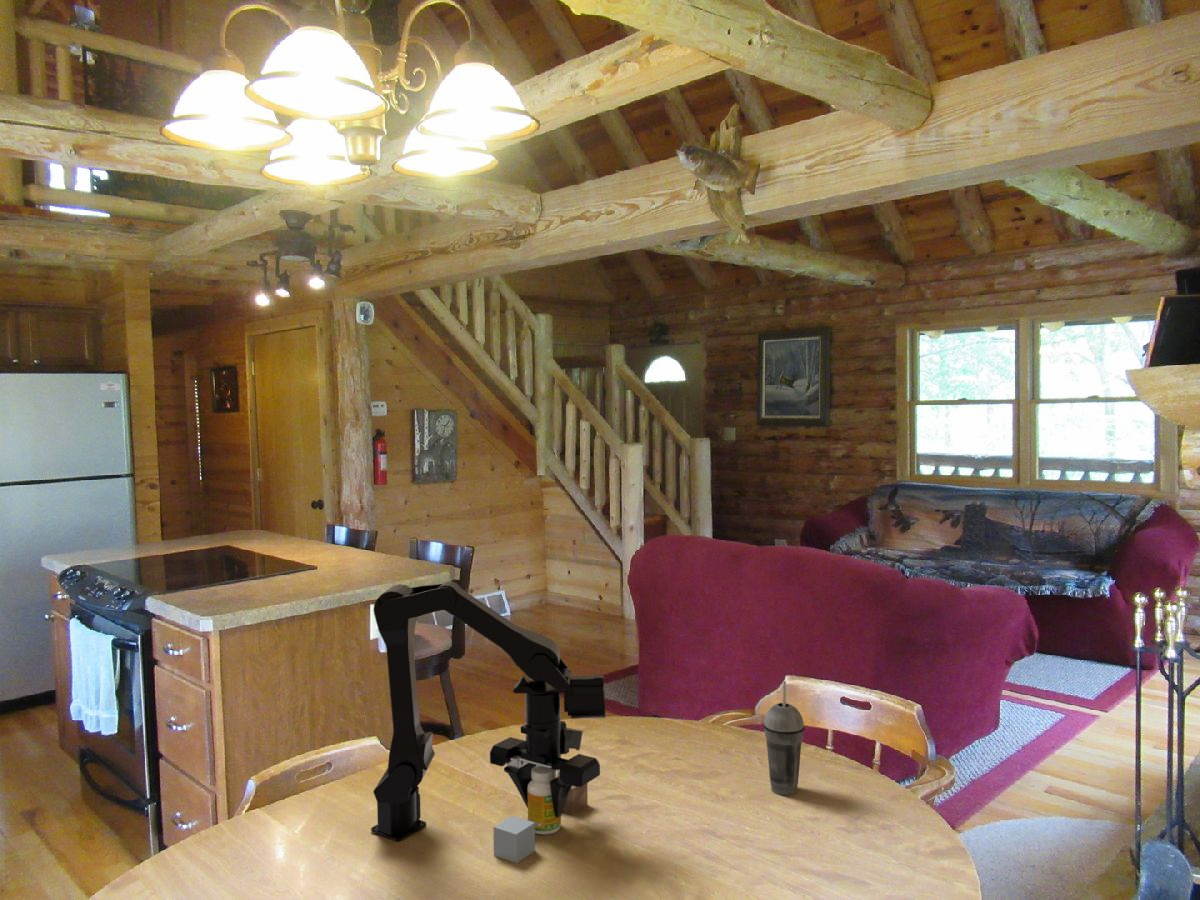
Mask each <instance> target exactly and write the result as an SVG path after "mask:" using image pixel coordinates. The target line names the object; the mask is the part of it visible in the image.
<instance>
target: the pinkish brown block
mask: <svg viewBox="0 0 1200 900" xmlns="http://www.w3.org/2000/svg"><path fill="white" fill-rule="evenodd" d="M588 796H589V795H588V783H587V784H585V785H584V786H581V787H576V786H572V787H571V789H570V792H569V794H568V797H567V800H566V803H565V806H564V809H563V812H562V813H564V814H569V815H572V816H573V815H575V814H576V813H578V812H579V811H581V810H582V809H584V808H585V807H587V806H588V804H589V801H588V798H589V797H588Z"/></svg>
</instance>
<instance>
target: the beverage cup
mask: <svg viewBox="0 0 1200 900" xmlns="http://www.w3.org/2000/svg"><path fill="white" fill-rule="evenodd" d="M762 726H763V729H764V730H763V731H764V736H765V738H766V749H767V760H768V770H769V782H770V788H771V789H770V790H771V792H772V793H773V794H776V795H778V796H783V797H784V796H785V797H786V796H787V797H788V796H789V797H790V796H794V795H796V794H797V793H798V785H799V773H800V765H801V763H800V762H801V751H802V750H801V749H802V742H803V737H804V731H805V729H806V728H805V724H804V719H803V716H802V713H801V712H800V711H799V710H798V709H797V707H795V706H794V705H792V704H790V703H787V682H786V680H785V681H784V680H783V681H782V702H779V703H776V704H774V705H772V706H771V707H770V708H769V709H767V711H766V714H765V716H764V721H763V725H762Z"/></svg>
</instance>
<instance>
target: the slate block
mask: <svg viewBox="0 0 1200 900" xmlns="http://www.w3.org/2000/svg"><path fill="white" fill-rule="evenodd" d="M492 830H493V856H494V857H497V858H500V859H503V860H506V861H508V862H512V863H514V864H518V863H520V862H521V861H522V860H523V859H525V858H527V857H528V856H529V855H531V854H533V853H534V852H535V851H536V834H535V823H534V822H531V821H528V819H524V818H521V817H518V816H515V815H510V816H509V817H507V818H506V819H504V820H503V821H501V822H500V823H498V824H496V825H494V826H493V829H492Z"/></svg>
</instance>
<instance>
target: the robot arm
mask: <svg viewBox="0 0 1200 900" xmlns="http://www.w3.org/2000/svg"><path fill="white" fill-rule="evenodd" d="M441 611H444V612H447V613H448V614H450V615H451V616H452V617H454V618H456V619H457V620H458V621H460V622H462V623H463V624H465V625H466V626H468V627H470V629H472V630H474V631H475V632H477V633H478V634H479V635H481V636H482V637H484V638H486V639H487V640H489V641H490V642H491V643H493V644H495V645H496V646H497V647H498V648H500V649H502V650H503V651H504V652H505V653H506V655H508V657H509V658H510V659H511V661H512V662H513V663H514V664H515V666H516V667H518V668H519V669H520V671H522V672H523V674H522V676H521V677H520V679H519V680H518V681H516V682H515V684H514V686H513V690H512V693H513V694H524V699H525V700H524V701H525V703H524V704H525V705H524V706H525V713H524V714H525V716H524V717H525V724H524V725H522V726H520V733H521V734H524V735H525V740H523V739H519V738H514V737H507V738H505V739H503V740H501V741H500V742H498V743H496V744H493V745H492V747H491V748H490V750H489V763H490V764H491V765H495V766H499V767H504V768H503V772H504V773H507V774H508V776H509V777H510V779H511V781H512V782H513V784H514V785H515V787H516V789H517V791H518V793H519V794H520V796H521V798H522V800H523V801H522V802H524V804H525V806H526V808H527V809H528V792H527V790H528V784H529V782H530V781H532V777H531V770H532V768H533V767H535V766H537V765H539V766H543V767H547V768H550V769H554V770H556V771H557V773H556V778H555V779H553V780H551V781H550V788H551V795H552V802H553V808H554V813H555V816H556V817H557V818H558V817H560V816H561V817H562V815H563V813H564V812H563V809H564V806H565V803H566V800H567V797H568V794H569V792H570V789H571V787H572V786H576V787H581V786H584V785H585V784H587V785H588V783H590V782H591V781H593V780H594V779H596V778H598V777H599V776H600V775H601V765H600V761H599V760H598V759H597V758H596V757H593V756H589V755H584V754H582V753H581V754H580V753H577V754H576V755H574V756H573V757H571V758H569V759H567V758H563V757H562V755H566V754H569V753H570V749H573V750H576V751H580V749H581V745H582V738H583V733H584V731H583V730H580V729H576V728H571V727H567V722H566V721H565V720H561V694H562V693H563V711H564V713H567V716H569V717H570V719H606V690H605V681H604V680H605V679H604V674H592V675H573V674H572V673H573V672H572V670H571V669H570V667H568V665H567V664H566V662H564V660H563V659H562V657H561V650H560V646H559V645H558V643H556V642H555V641H554V640H553V639H552V638H550V637H547V636H545V635H543V634H541V633H538V632H537V631H532V630H529V629H526V628H523V627H520V626H518V625H516V624H515V623H513V622H512V621H510V620H508V619H507V618H506V617H504V616H503V615H501V614H500V613H498V612H497V611H495V610H494V609H493V608H492V607H490V606H488V605H487V604H485V603H484V602H482V601H481V600H479V599H478V598H476V597H475V596H473V595H472V594H470V593H469V592H467V591H466V590H464V589H463V588H462V587H461V586H460V585H459V584H458V583H457V582H454V581H450V580H449V581H444V582H442V583H437V584H435V583H434V584H424V585H417V586H413V587H410V586H409V585H406V584H399V583H398V584H395V585H393V586H391V587H390V588H388V589H387V590H386V591H384V592H383V593H382V594H381V595H379V597H378V598H377V599H376V601H375V602H374V604H373V614H374V615H373V616H374V618H375V622H376V626H377V630H378V632H379V635H380V637H381V639H382V641H383V643H384V644H385V648H386V661H387V671H388V683H389V696H390V708H391V709H390V710H391V719H392V737H391V744H390V747H389V748H390V749H389V754H388V762H387V763H388V764H387V768H386V770H385V771H384V774H383V775H382V777H381V778H380V780H379V781H378V783H377V785H376V786H375V788H374V790H373V794H374V797H375V800H376V803H377V804H376V807H377V809H376V810H377V824H375V825H373V826H372V827H371V828H370V831H371V832H372V833H375V834H377V835H379V836H382V837H386V838H388V839H390V840H394V841H396V842H397V841H401V840H403V839H405V838H407V837H409V836H410V835H412V834H414V833H415V832H417V831H420V830H421V829H423V828H424V827H426V826H427V821H424V820H423V819H422V820H421V795H420V792H419V791H420V789H419V788H420V787H419V785H420V784H421V782H422V781H423V779H424V777H425V775H426V772H427V771H428V769H429V767H430V765H431V763H432V761H433V759H434V757H435V755H436V753H435V750H434V748H433V747H434V746H433V737H434V736H433V735H434V734H433V731H429V732H425V731H424V730H423V727H422V725H421V722H420V712H419V710H420V709H419V699H418V688H417V687H418V686H417V676H416V675H417V674H416V662H415V652H414V651H415V650H414V649H415V648H414V636H415V630H416V625H417V620H418V619H417V618H418V617H421V616H424V615H429V614H432V613H435V612H441Z"/></svg>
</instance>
